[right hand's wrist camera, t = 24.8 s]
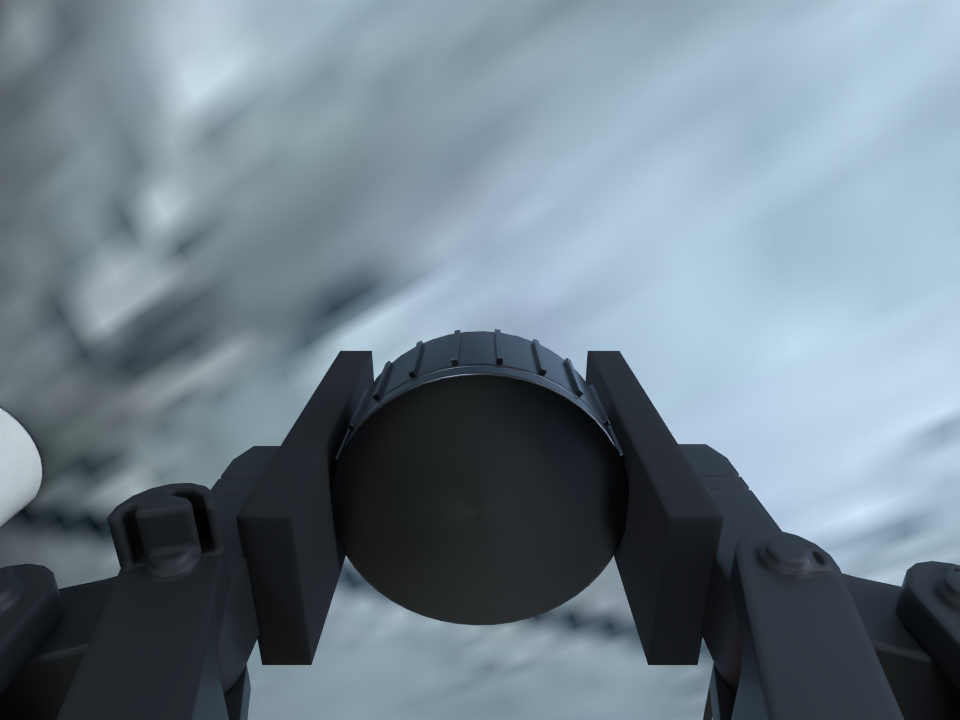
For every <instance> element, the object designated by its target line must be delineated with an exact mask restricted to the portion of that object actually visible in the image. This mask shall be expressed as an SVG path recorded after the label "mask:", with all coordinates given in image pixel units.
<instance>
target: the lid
mask: <svg viewBox="0 0 960 720" xmlns="http://www.w3.org/2000/svg"><path fill="white" fill-rule="evenodd" d="M347 429H348V430H347V432H346V434H345V437H344V439H343V441H342V443H341V446H340V448H339V450H338V452H337V455H336V457H335V464H336V466H335V469H334V472H333V478H332V484H331V504H332V514H333V522H334V527H335V530H336V534H337V537H338V540H339V542H340V544H341V546H342V548H343V550H344V552H345V554H346V556H347V557H348V559H349V560H350V562H351V563H352V565H353V566H354V568H355V569H356V570H357V571H358V572H359V573H360V575H361V576H362V577H363V578H364V579H365V580H366V581H367V582H368V583H369V584H370V585H371V586H373V587H374V588H375V589H376V590H377V591H378V592H380V593H381V594H382V595H384V596H385V597H387V598H388V599H390V600H391V601H393V602H395V603H396V604H398V605H400V606H402V607H404V608H406V609H408V610H410V611H413V612H415V613H417V614H420V615H422V616H425V617H429V618H432V619H436V620H439V621H444V622H450V623H456V624H466V625H495V624H503V623H511V622H515V621H520V620H524V619H528V618H531V617H534V616H537V615H540V614H543V613H545V612H547V611H550V610H552V609H554V608H556V607H558V606H560V605H562V604H563V603H565V602H567V601H568V600H570V599H572V598H573V597H575V596H576V595H577V594H579V593H580V592H581V591H582V590H584V589H585V588H586V587H588V586H589V585H590V584H591V583H592V582H593V581H594V580H595V579H596V578H597V577H598V576H599V575H600V574H601V572H602V571H603V570H604V568H605V567H606V566H607V564H608V563H609V562H610V560H611V559H612V557H613V555H614V553H615V552H616V550H617V548H618V546H619V544H620V541H621V539H622V536H623V533H624V531H625V527H626V519H627V510H628V500H629V485H628V478H627V474H626V470H625V466H624V463H623V460H624V459H625V456H624V453H623V451H622V448H621V446H620V444H619V442H618V439H617V437H616V435H615V433H614V430H613V428H612V426H611V424H610V421H609V419H608V417H607V415H606V412H605V410H604V408H603V406H602V403H601V401H600V399H599V397H598V395H597V392H596V390H595V388H594V386H593V385H590V386H588V384H587V383H586V382H585V380H584V379H583V378H582V377H581V376H580V374H579V373H578V372H577V371H576V370H575V369H574V368H573V365H572V362H571V361H570V360H569V359H568V358H566V359H565V360H564V359H562V358H561V357H560V356H558V355H557V354H555V353H554V352H552V351H551V350H549V349H547V348H545V347H543V346H541V345H540V344H539V341H538V340H536V339H533V341H529V340H527V339H524V338H521V337H518V336H513V335H509V334H504V333H501V331H500V330H496V329H495V332H485V331H481V332H463V333H461V332H460V330H456V331H455V332H454V334H450V335H446V336H443V337H439V338H436V339H432V340H430V341H428V342H425V343H423V342H422V341H420V342H417V345H416V347H414V348H413V349H411V350H409V351H408V352H406V353H405V354H403V355H401V356H400V357H399V358H397V359H396V360H395V361H394V362H393V363H391V362H390V361H388V362H387V363H386V364H385V367H384V369H383V372H382V373H381V374H380V375H379V376H378V377H377V379H376V380H375V382H374V383H373V384H372V386H371V387H370V389H369V390H368V389H366V388H365V389H364V391H363V393H362V395H361V397H360V399H359V402H358V404H357V406H356V408H355V411H354V413H353V415H352V417H351V420H350V422H349V424H348V426H347Z"/></svg>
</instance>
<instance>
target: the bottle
mask: <svg viewBox="0 0 960 720" xmlns="http://www.w3.org/2000/svg"><path fill="white" fill-rule="evenodd" d="M41 480H42V463H41V459H40V455H39V452H38V450H37V448H36V445H35V443H34V442H33V440H32V438H31V437H30V435H29V434H28V433H27V431H26V430H25V429H24V428H23V427H22V425H21V424H20V423H19V422H18V421H17V420H16V419H14V418H13V417H12V416H11V415H10V414H9V413H7V412H6V411H4V410H3V409H1V408H0V527H1V526H3V525H4V524H5V523H6V522H7V521H9V520H10V519H11V518H12V517H14V516H15V515H16V514H17V513H19V512H20V511H21V510H22V509H23V508H25V507H26V506H27V505H28V504H29V503H30V502H31V501H32V500H33V499H34V498H35V496H36V494H37V492H38V490H39V488H40V485H41Z"/></svg>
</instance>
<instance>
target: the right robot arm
mask: <svg viewBox="0 0 960 720" xmlns="http://www.w3.org/2000/svg"><path fill="white" fill-rule="evenodd" d="M373 383H374V375H373V361H372V351H340V352H339V354H338V356H337V357H336V359H335V360H334V362H333V364H332V365H331V367H330V368H329V370H328V371H327V373H326V375H325V376H324V378H323V379H322V381H321V383H320V384H319V386H318V387H317V389H316V391H315V392H314V394H313V395H312V397H311V399H310V400H309V402H308V403H307V405H306V406H305V408H304V410H303V411H302V413H301V414H300V416H299V418H298V419H297V421H296V422H295V424H294V426H293V427H292V429H291V430H290V432H289V433H288V435H287V437H286V438H285V440H284V441H283V443H282V445H281V446H253V447H252V448H250V449H249V450H247V451H246V452H244V453H243V454H241V455H240V456H238V457H237V458H235V459H234V460H233V461H232V462H231V463H230V465H229V466H228V467H227V469H226V470H225V471H224V473H223V474H222V475H221V479H218V481H217V482H216V483H215V485H214V486H213V488H212V489H211V491H210V490H209V489H208V488H207V487H205V486H202V485H197V484H193V483H178V484H169V485H164V486H160V487H155V488H151V489H149V490H147V491H144V492H142V493H139V494H137V495H134V496H132V497H131V498H129V499H128V500H126V501H124V502H123V503H121V504H120V505H118V506H117V507H116V508H115V509H114V510H113V512H112V513H111V514H110V515H109V516H108V518H107V520H108V523H109V527H110V530H111V534H112V538H113V541H114V545H115V549H116V552H117V556H118V560H119V563H120V567H121V569H120V572H119V574H118V576H116V577H112V578H108V579H105V580H100V581H96V582H91V583H86V584H81V585H77V586H72V587H67V588H63V589H58V586H57V583H56V580H55V577H54V574H53V572H51V571H50V570H49V569H47V568H46V567H45V566H41V565H33V564H23V565H15V566H7V567H4V568H0V720H247V717H248V707H249V698H250V681H249V675H248V669H247V664H246V663H247V661H248V659H249V656H250V654H251V652H252V649H253V647H254V645H255V643H256V640H257V638H258V644H259V650H260V655H261V661H262V665H311V664H312V661H313V658H314V655H315V652H316V649H317V645H318V642H319V639H320V636H321V633H322V629H323V626H324V623H325V620H326V617H327V614H328V610H329V607H330V604H331V601H332V598H333V594H334V591H335V588H336V585H337V582H338V579H339V575H340V572H341V569H342V566H343V563H344V559H345V556H346V554H345V552H344V550H343V548H342V546H341V544H340V542H339V540H338V537H337V534H336V530H335V527H334V522H333V514H332V504H331V484H332V478H333V472H334V469H335V466H336V464H335V457H336V455H337V452H338V450H339V448H340V446H341V443H342V441H343V439H344V437H345V434H346V432H347V430H348V429H347V426H348V424H349V422H350V420H351V417H352V415H353V413H354V411H355V408H356V406H357V404H358V402H359V399H360V397H361V395H362V393H363V391H364V389H365V388H366V389H368V390H369V389H370V387H371V386H372V384H373ZM586 383H587V384H588V386H590V385H593V386H594V388H595V390H596V392H597V395H598V397H599V399H600V401H601V403H602V406H603V408H604V410H605V412H606V415H607V417H608V419H609V421H610V424H611V426H612V428H613V430H614V433H615V435H616V437H617V439H618V442H619V444H620V446H621V448H622V451H623V453H624V456H625V459H624V460H623V463H624V466H625V470H626V474H627V478H628V485H629V500H628V510H627V519H626V527H625V531H624V533H623V536H622V539H621V541H620V544H619V546H618V548H617V550H616V552H615V553H614V557H615V561H616V564H617V567H618V570H619V573H620V576H621V580H622V583H623V586H624V589H625V592H626V596H627V599H628V602H629V605H630V608H631V612H632V615H633V618H634V621H635V624H636V627H637V631H638V634H639V637H640V640H641V643H642V647H643V650H644V653H645V656H646V659H647V662H648V665H697V664H698V659H699V653H700V647H701V642H702V636H703V638H704V640H705V643H706V645H707V647H708V650H709V652H710V654H711V656H712V659H713V661H714V664H713V669H712V675H711V680H710V685H709V690H708V696H707V701H706V706H705V711H704V718H703V720H712V715H713V720H960V565H956V564H950V563H943V562H935V561H930V562H922V563H916V564H915V565H913V566H912V567H911V568H909V569H908V570H907V572H906V575H905V578H904V581H903V585H902V587H900V586H895V585H891V584H886V583H881V582H876V581H872V580H867V579H862V578H857V577H853V576H850V575H846V574H843V573H841V571H840V568H839V567H838V565H837V564H836V563H835V561H834V560H833V558H832V557H831V556H830V555H829V554H828V553H827V552H825V551H824V550H823V549H821V548H820V547H819V546H817V545H816V544H814V543H812V542H810V541H808V540H806V539H804V538H801V537H799V536H797V535H793V534H790V533H786V532H782V531H781V529H780V528H779V527H778V525H777V524H776V523H775V521H774V520H773V519H772V517H771V516H770V515H769V513H768V512H767V511H766V509H765V508H764V507H763V505H762V504H761V503H760V501H759V500H758V499H757V497H756V496H755V495H754V493H753V492H752V491H751V490H749V487H748V485H747V484H746V483H745V481H744V480H743V479H742V477H739V473H738V472H737V471H736V469H735V468H734V467H733V466H732V464H731V463H730V462H729V460H728V459H727V458H726V457H725V456H723V455H722V454H720V453H719V452H717V451H715V450H714V449H712V448H711V447H709V446H708V445H706V444H677V442H676V440H675V439H674V437H673V436H672V434H671V433H670V431H669V429H668V428H667V426H666V425H665V423H664V421H663V420H662V418H661V417H660V415H659V413H658V412H657V410H656V409H655V407H654V405H653V404H652V402H651V401H650V399H649V398H648V396H647V394H646V393H645V391H644V390H643V388H642V386H641V385H640V383H639V382H638V380H637V378H636V377H635V375H634V374H633V372H632V370H631V369H630V367H629V366H628V364H627V363H626V361H625V359H624V358H623V356H622V355H621V353H620V351H588V355H587V370H586Z"/></svg>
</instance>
